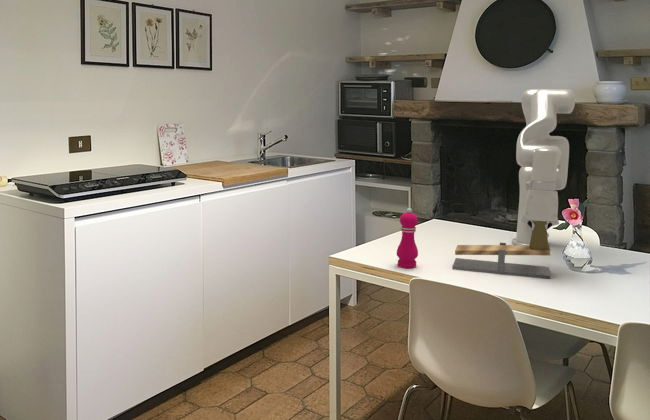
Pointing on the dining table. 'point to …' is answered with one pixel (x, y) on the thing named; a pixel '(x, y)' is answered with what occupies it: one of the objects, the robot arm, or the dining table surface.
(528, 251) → the beam
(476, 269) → the stand
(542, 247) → the cork
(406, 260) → the pepper mill
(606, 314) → the dining table surface
